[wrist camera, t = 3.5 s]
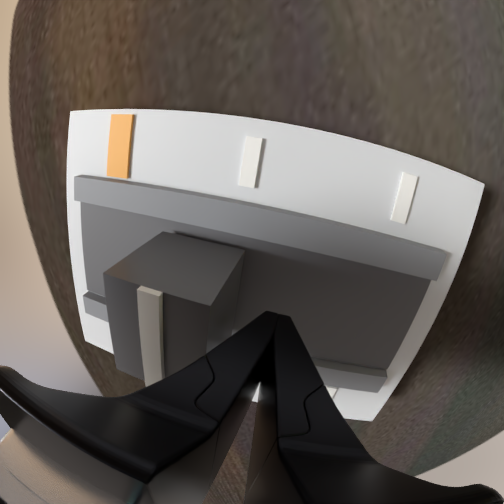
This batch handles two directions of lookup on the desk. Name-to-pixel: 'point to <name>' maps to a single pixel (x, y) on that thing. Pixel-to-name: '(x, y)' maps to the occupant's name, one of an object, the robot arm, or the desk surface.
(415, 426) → the desk surface
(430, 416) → the desk surface
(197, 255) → the fader knob
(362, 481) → the robot arm
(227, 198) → the console board
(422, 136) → the desk surface
